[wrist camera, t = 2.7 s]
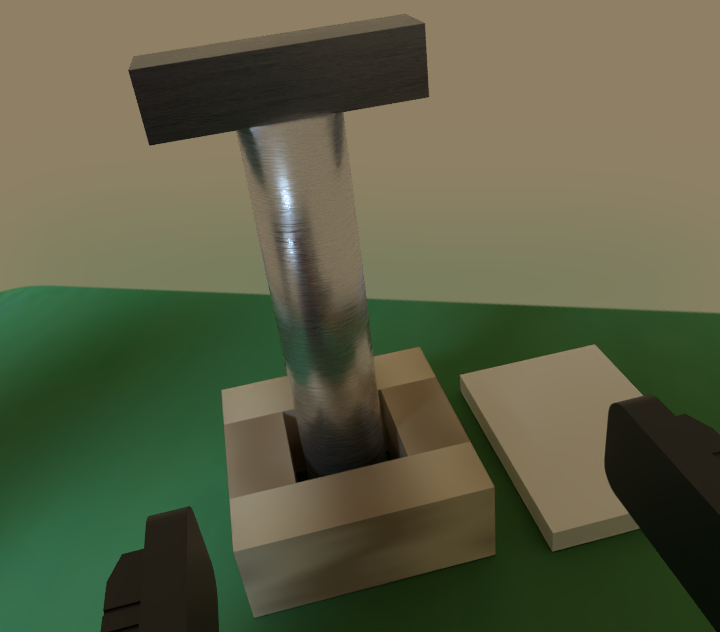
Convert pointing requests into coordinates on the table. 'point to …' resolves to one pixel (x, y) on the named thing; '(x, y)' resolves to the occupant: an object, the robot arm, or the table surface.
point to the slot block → (353, 493)
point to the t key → (301, 195)
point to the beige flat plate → (555, 438)
